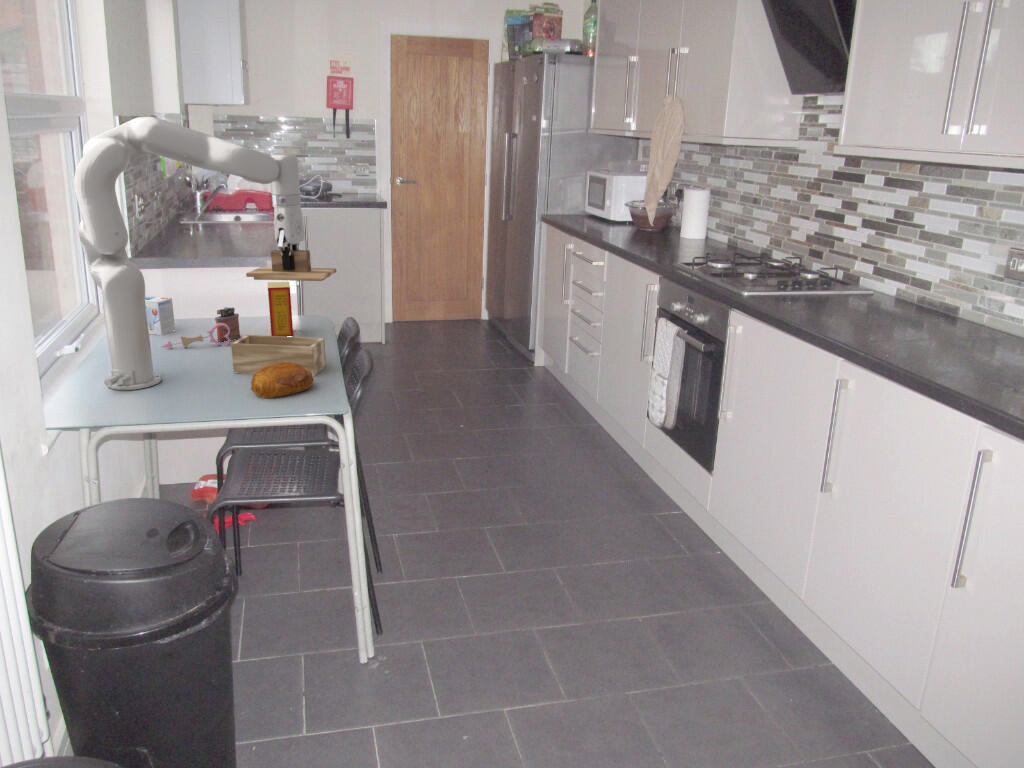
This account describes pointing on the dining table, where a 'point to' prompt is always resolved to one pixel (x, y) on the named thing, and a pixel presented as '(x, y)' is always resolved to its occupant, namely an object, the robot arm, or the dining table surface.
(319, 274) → the wooden block with riser
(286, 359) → the open wooden crate
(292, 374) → the croissant
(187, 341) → the decorative key
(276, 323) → the baking soda box
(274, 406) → the dining table surface
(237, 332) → the lighter
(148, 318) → the light bulb box
